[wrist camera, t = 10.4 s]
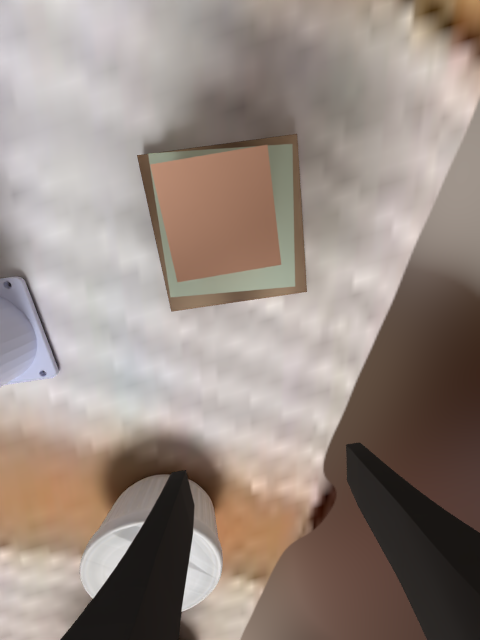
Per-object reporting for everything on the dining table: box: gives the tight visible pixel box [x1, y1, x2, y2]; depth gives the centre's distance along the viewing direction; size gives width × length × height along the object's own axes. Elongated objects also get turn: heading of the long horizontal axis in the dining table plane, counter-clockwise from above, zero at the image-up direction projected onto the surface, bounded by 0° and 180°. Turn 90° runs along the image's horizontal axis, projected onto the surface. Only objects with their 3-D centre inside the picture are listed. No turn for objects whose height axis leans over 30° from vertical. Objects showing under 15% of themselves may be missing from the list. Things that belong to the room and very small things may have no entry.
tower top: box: [148, 144, 295, 297], centre depth 16 cm, size 8×8×2 cm
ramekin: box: [80, 474, 223, 612], centre depth 22 cm, size 11×11×5 cm
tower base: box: [137, 134, 307, 312], centre depth 18 cm, size 10×10×2 cm
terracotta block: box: [150, 145, 281, 282], centre depth 12 cm, size 4×4×5 cm
